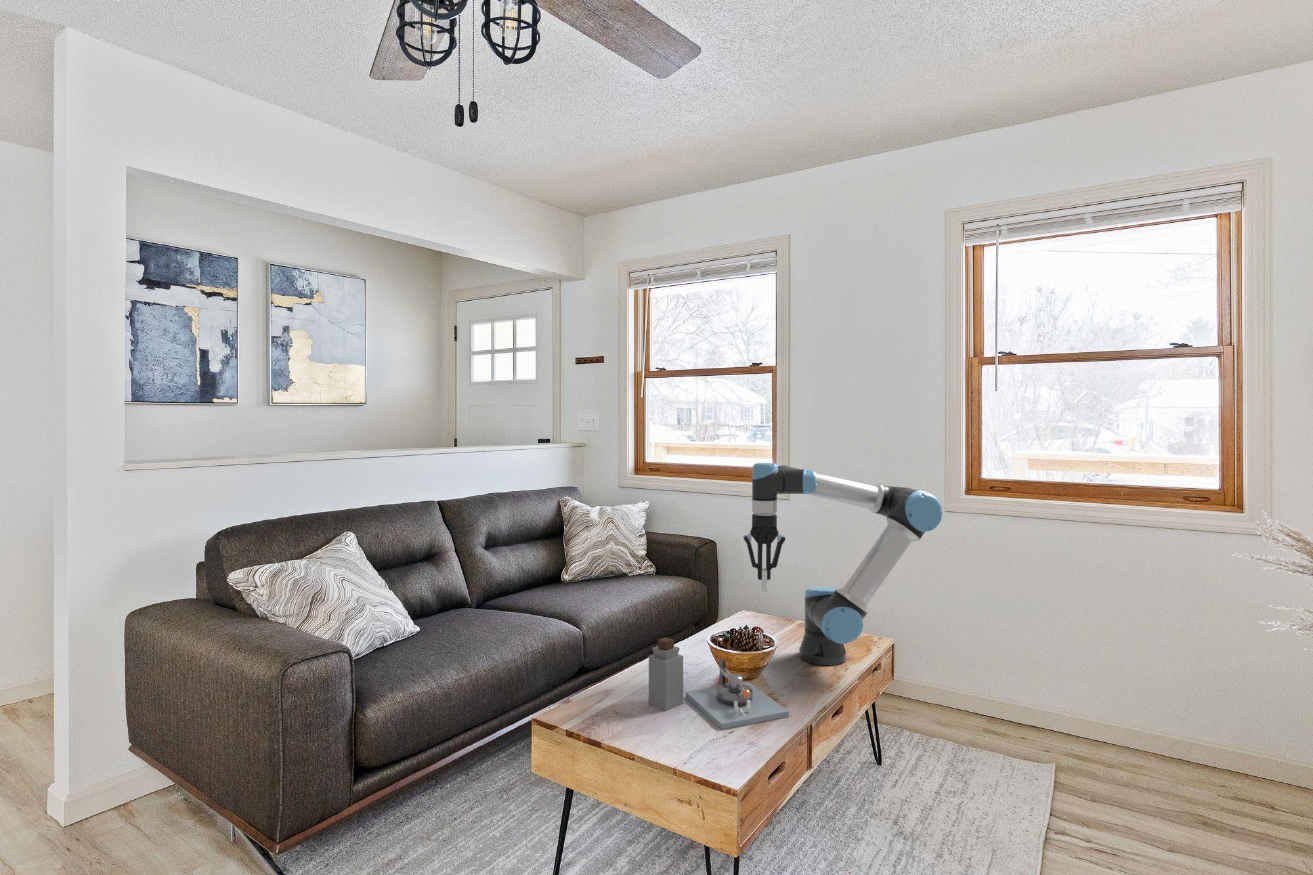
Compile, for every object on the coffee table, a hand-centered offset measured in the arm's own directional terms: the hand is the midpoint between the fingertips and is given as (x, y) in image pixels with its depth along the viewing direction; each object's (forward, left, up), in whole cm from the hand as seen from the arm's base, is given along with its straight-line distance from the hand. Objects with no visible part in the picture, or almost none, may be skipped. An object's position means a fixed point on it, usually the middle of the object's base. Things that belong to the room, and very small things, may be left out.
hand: (763, 590), depth 215 cm
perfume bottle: (+36, +8, -27) cm, 45 cm away
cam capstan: (+19, +16, -24) cm, 34 cm away
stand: (+19, +17, -26) cm, 37 cm away
